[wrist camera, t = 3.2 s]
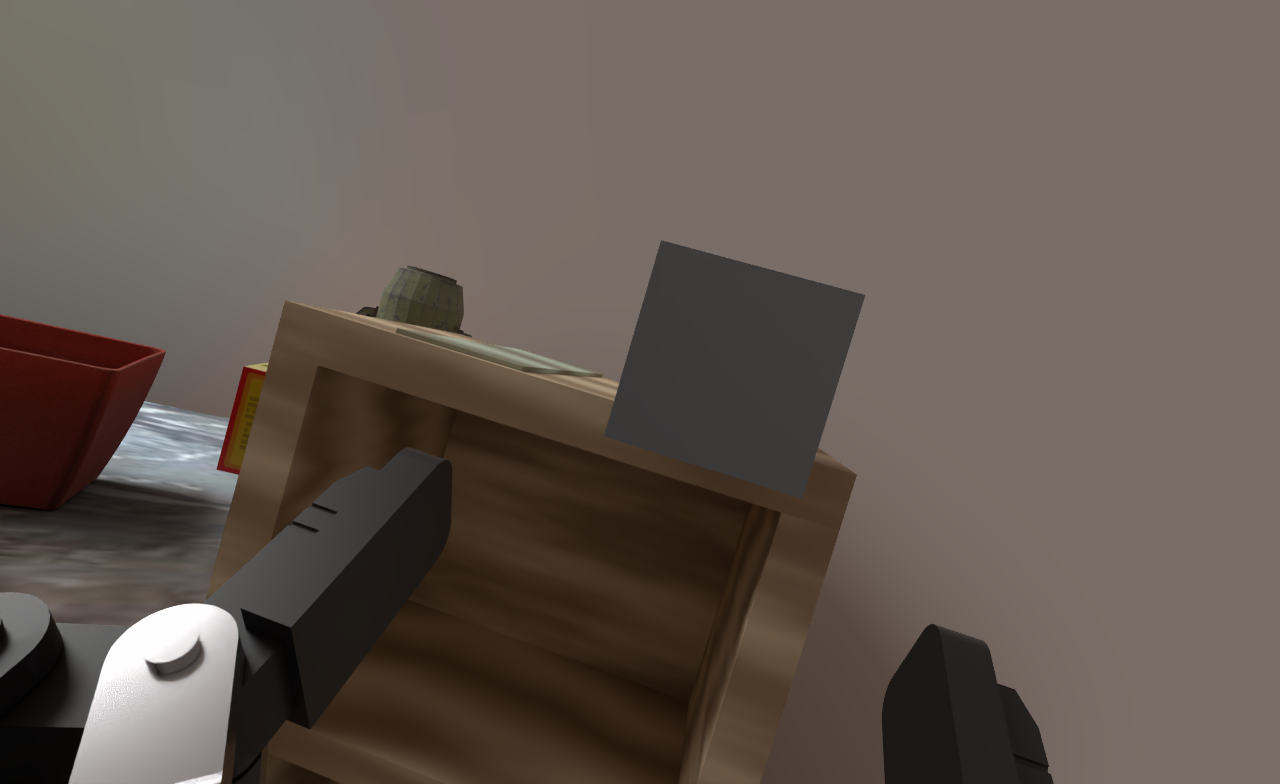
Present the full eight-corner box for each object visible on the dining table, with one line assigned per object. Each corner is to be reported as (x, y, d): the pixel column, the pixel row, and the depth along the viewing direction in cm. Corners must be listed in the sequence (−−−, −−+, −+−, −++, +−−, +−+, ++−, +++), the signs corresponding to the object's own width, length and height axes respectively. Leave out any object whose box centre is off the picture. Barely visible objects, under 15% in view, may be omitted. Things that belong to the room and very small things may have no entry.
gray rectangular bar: (817, 503, 12) (890, 268, 12) (589, 431, 13) (655, 206, 13) (758, 424, 38) (781, 349, 38) (683, 401, 39) (706, 327, 38)
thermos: (290, 585, 67) (379, 258, 65) (405, 608, 69) (494, 293, 67) (254, 624, 58) (356, 248, 56) (388, 649, 60) (490, 288, 59)
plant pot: (-189, 497, 58) (-147, 315, 57) (-62, 446, 75) (-28, 306, 74) (77, 528, 66) (117, 370, 65) (136, 476, 83) (168, 350, 82)
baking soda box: (264, 480, 95) (291, 376, 94) (216, 469, 94) (244, 363, 93) (286, 466, 104) (312, 371, 104) (243, 456, 103) (269, 360, 102)
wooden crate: (599, 1293, 23) (858, 469, 22) (89, 1038, 26) (286, 295, 25) (653, 925, 39) (804, 434, 38) (331, 792, 42) (460, 331, 40)
